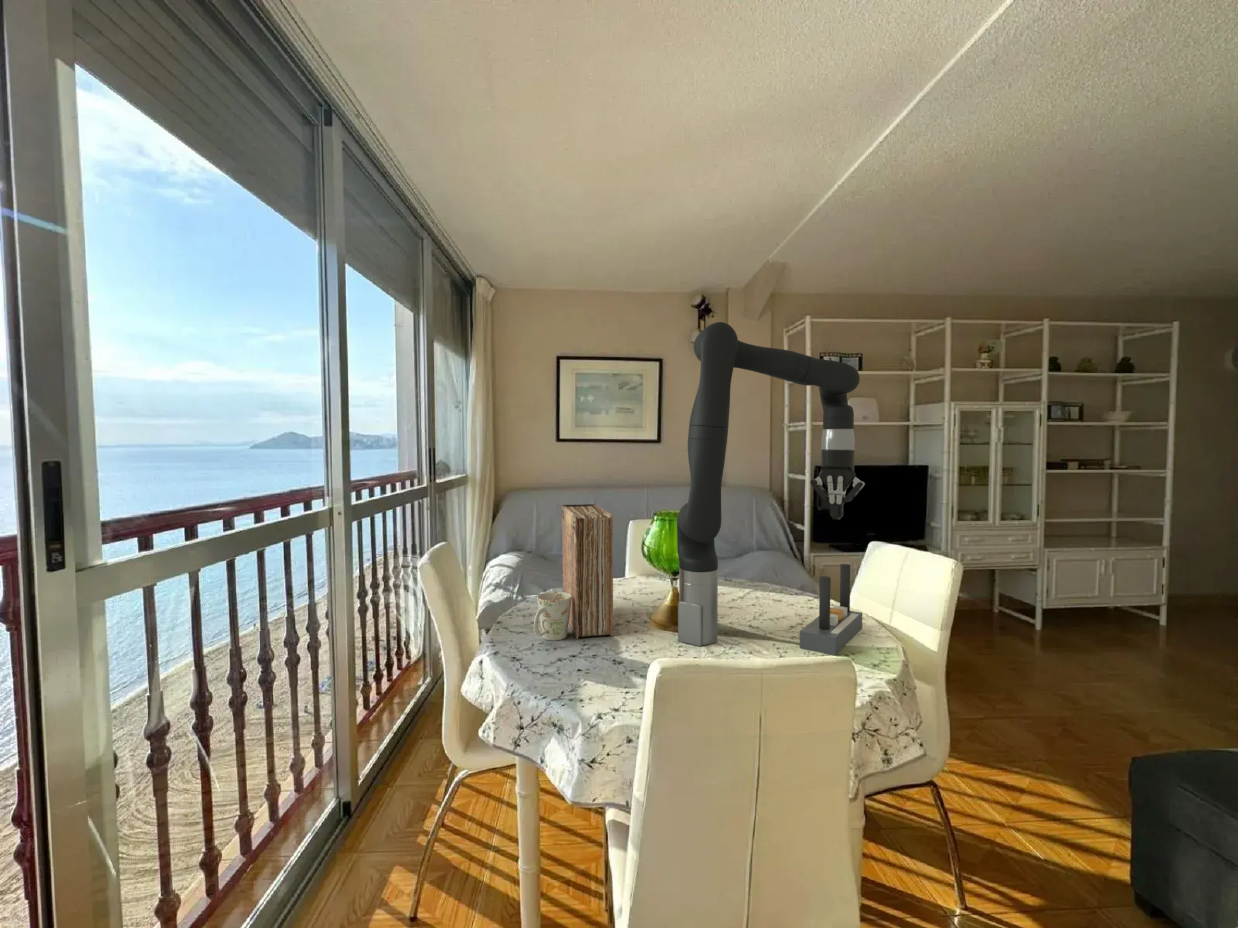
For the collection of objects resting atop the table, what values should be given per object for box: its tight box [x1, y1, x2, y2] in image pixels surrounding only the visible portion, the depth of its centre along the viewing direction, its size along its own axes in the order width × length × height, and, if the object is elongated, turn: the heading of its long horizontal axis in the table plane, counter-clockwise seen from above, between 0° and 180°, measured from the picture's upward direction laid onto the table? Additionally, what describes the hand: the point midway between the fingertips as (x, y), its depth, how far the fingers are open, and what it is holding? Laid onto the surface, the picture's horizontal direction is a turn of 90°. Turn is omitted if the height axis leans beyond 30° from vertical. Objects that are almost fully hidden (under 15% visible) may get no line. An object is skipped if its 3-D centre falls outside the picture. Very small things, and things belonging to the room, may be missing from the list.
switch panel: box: [799, 605, 863, 656], centre depth 144 cm, size 24×8×6 cm, turn 144°
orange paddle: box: [830, 607, 843, 620], centre depth 146 cm, size 2×3×2 cm
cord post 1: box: [818, 575, 832, 630], centre depth 139 cm, size 2×2×12 cm
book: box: [561, 503, 614, 641], centre depth 156 cm, size 25×9×30 cm, turn 13°
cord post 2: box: [839, 563, 851, 613], centre depth 153 cm, size 2×2×12 cm
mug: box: [533, 591, 571, 641], centre depth 143 cm, size 8×13×10 cm, turn 155°
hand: (836, 518), depth 145 cm, fingers closed
